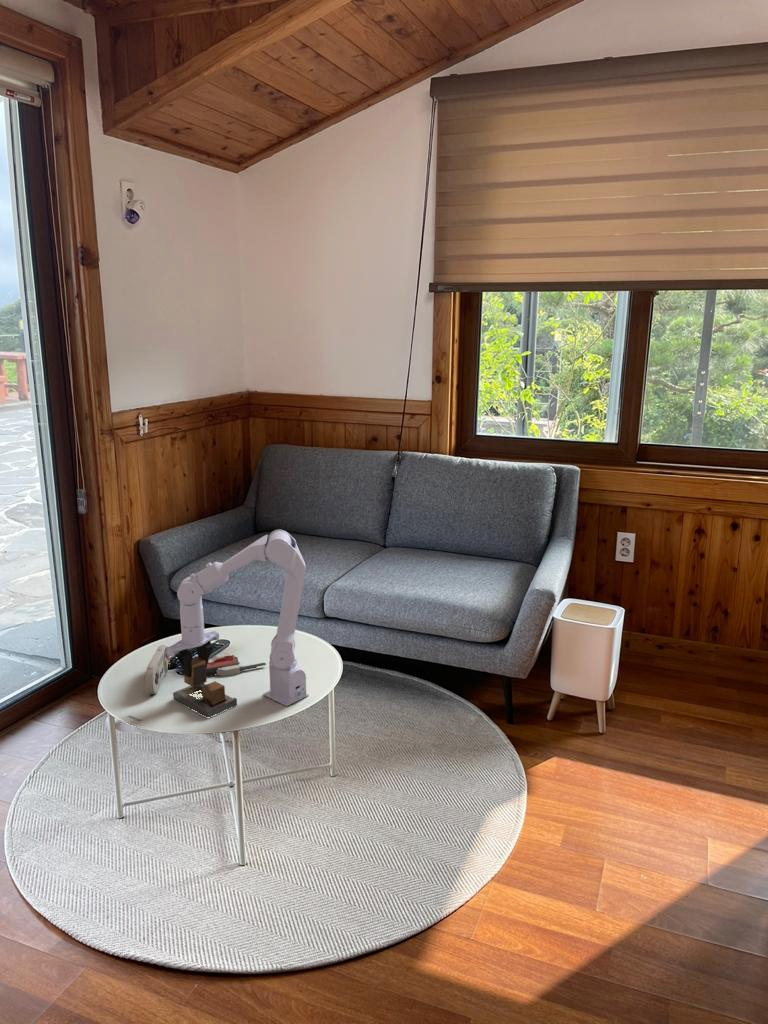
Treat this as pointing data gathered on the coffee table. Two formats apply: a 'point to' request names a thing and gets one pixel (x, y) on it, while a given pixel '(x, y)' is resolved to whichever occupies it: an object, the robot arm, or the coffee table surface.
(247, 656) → the coffee table surface
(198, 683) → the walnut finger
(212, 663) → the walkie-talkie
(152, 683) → the game controller
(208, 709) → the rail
